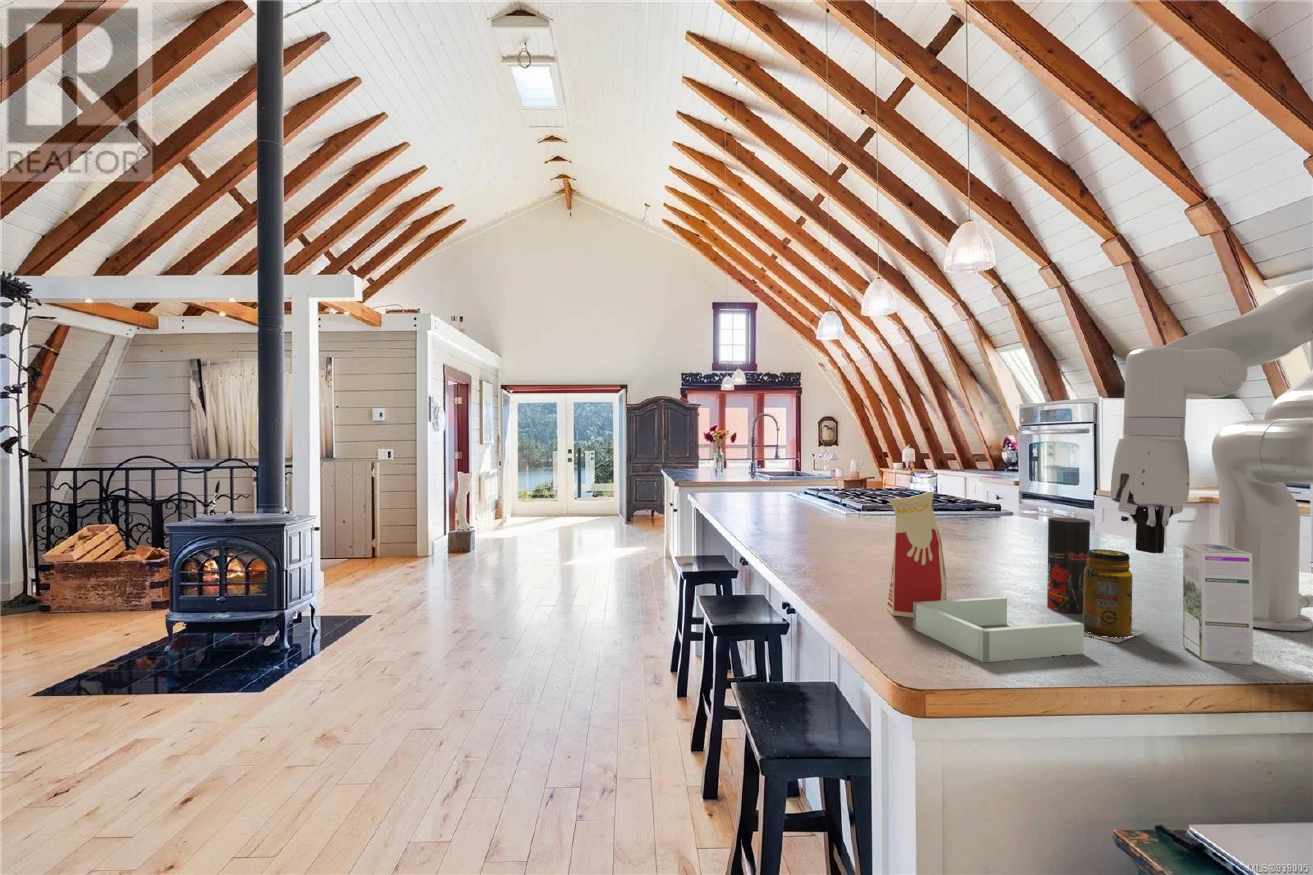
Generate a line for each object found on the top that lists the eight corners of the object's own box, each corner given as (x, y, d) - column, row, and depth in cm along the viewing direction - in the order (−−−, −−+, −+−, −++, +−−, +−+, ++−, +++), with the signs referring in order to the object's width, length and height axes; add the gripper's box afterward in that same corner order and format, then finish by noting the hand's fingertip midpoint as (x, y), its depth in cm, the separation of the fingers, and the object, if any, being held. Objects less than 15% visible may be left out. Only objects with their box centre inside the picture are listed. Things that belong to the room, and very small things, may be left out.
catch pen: (1002, 622, 104) (1002, 596, 104) (1083, 654, 90) (1083, 624, 90) (913, 628, 101) (913, 602, 101) (982, 662, 86) (982, 631, 86)
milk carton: (946, 608, 113) (947, 489, 113) (945, 622, 104) (946, 494, 104) (889, 602, 117) (890, 487, 116) (883, 615, 108) (884, 491, 108)
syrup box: (1255, 666, 85) (1256, 552, 85) (1199, 661, 87) (1201, 549, 87) (1231, 651, 91) (1233, 545, 91) (1180, 647, 93) (1181, 542, 92)
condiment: (1143, 634, 99) (1144, 553, 99) (1117, 644, 94) (1118, 559, 94) (1089, 622, 105) (1090, 545, 105) (1062, 631, 100) (1063, 551, 100)
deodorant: (1096, 614, 109) (1098, 522, 109) (1060, 613, 110) (1061, 522, 109) (1074, 604, 115) (1075, 517, 115) (1040, 604, 115) (1041, 517, 115)
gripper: (1169, 431, 106) (1165, 547, 107) (1091, 428, 103) (1087, 548, 103) (1218, 432, 99) (1214, 555, 99) (1136, 428, 96) (1131, 557, 96)
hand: (1149, 551), depth 101 cm, fingers closed
